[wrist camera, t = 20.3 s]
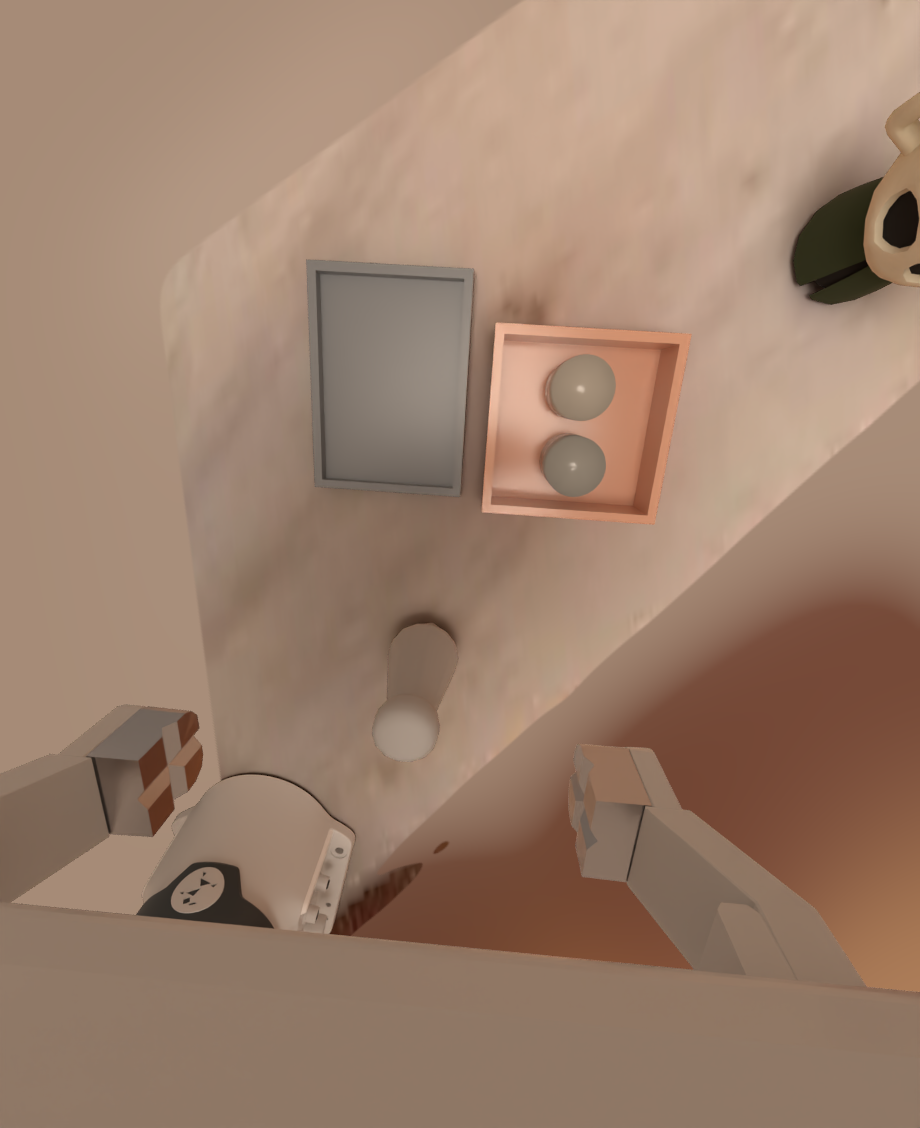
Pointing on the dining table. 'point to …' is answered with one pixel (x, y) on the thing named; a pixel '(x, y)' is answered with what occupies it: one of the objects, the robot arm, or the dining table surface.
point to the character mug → (869, 226)
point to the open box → (622, 431)
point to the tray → (389, 375)
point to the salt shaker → (414, 692)
